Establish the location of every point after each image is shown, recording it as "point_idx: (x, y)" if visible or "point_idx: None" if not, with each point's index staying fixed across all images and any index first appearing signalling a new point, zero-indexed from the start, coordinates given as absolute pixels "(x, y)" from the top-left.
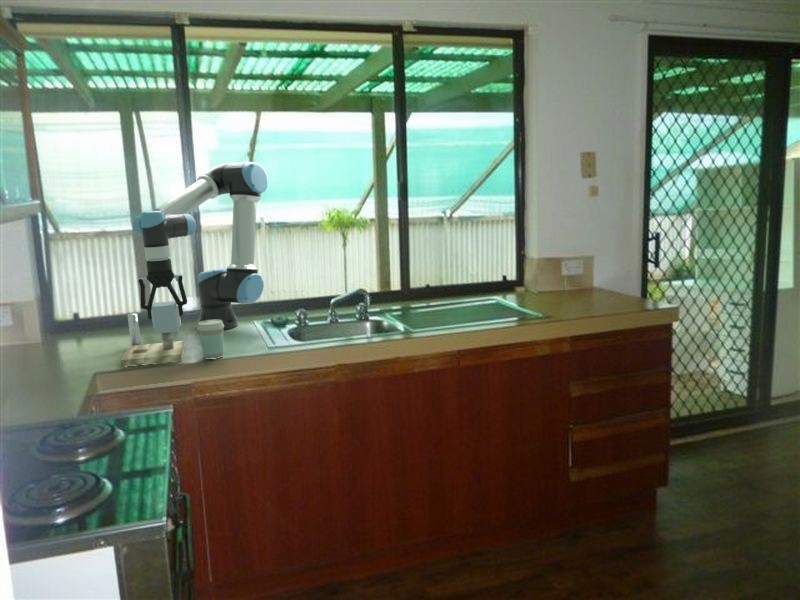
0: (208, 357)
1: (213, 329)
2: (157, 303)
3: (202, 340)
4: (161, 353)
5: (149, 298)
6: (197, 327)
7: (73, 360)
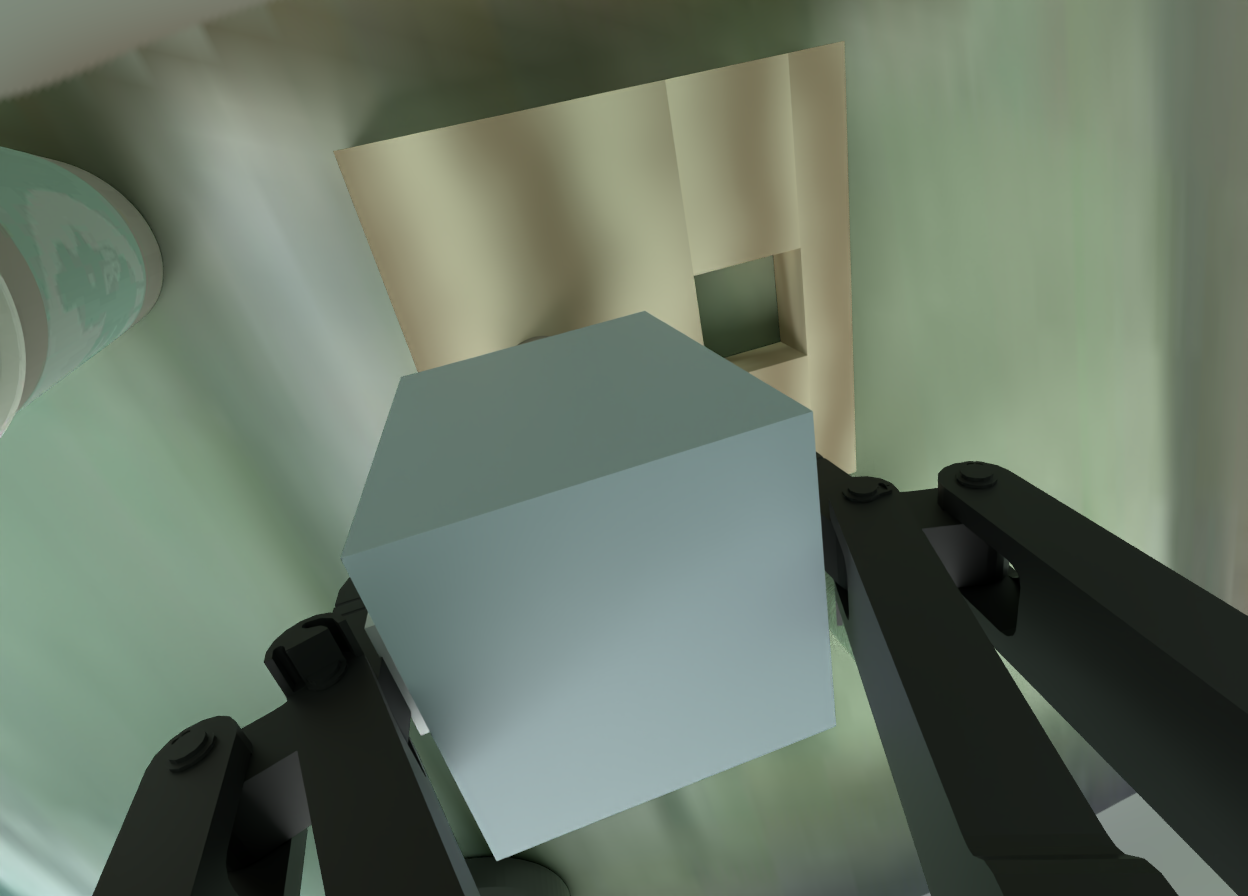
0: (51, 160)
1: None
2: (773, 683)
3: None
4: (547, 213)
5: (973, 616)
6: None
7: (1109, 327)
